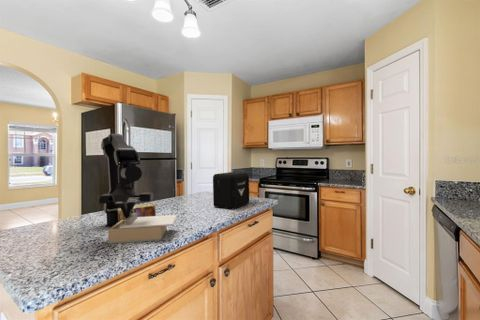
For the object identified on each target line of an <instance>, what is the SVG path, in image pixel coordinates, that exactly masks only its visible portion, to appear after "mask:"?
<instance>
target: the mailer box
mask: <svg viewBox="0 0 480 320" xmlns="http://www.w3.org/2000/svg"><path fill="white" fill-rule="evenodd" d="M125 222H127V220H121V221H120V222H118V223H117V224H116V225H114V226H111V227H110V228H109V229H108V233H107V234H108V245H110V244H124V243H125V244H126V243H138V242H139V243H140V242H150V241H151V242H153V241H162V239H163V237H164V235H165V234H166V231H167V229H168V226H154V227H138V228H121V229H120V226H122V225H123V224H124V223H125Z"/></svg>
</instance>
